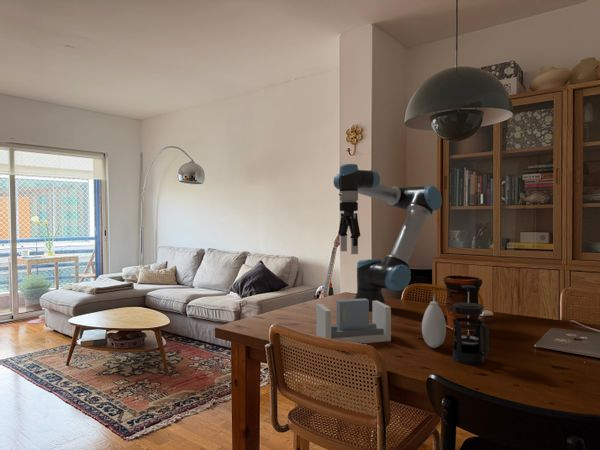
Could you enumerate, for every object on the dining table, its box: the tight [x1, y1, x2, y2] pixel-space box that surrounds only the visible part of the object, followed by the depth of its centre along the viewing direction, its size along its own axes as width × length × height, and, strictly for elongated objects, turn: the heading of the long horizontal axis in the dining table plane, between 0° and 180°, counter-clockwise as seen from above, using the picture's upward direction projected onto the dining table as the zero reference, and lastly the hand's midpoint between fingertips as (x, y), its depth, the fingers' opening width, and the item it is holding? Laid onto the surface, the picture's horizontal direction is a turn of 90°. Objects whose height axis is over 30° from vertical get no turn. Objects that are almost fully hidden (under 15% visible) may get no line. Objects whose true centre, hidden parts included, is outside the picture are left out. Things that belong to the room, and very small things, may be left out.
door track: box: [315, 301, 392, 344], centre depth 156 cm, size 24×12×12 cm, turn 103°
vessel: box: [443, 274, 483, 331], centre depth 170 cm, size 14×14×20 cm
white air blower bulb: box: [421, 295, 447, 349], centre depth 145 cm, size 8×8×18 cm
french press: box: [451, 285, 490, 366], centre depth 132 cm, size 12×9×23 cm
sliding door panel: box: [336, 298, 370, 331], centre depth 156 cm, size 11×4×12 cm, turn 103°
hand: (348, 252), depth 180 cm, fingers open, 13 cm apart
